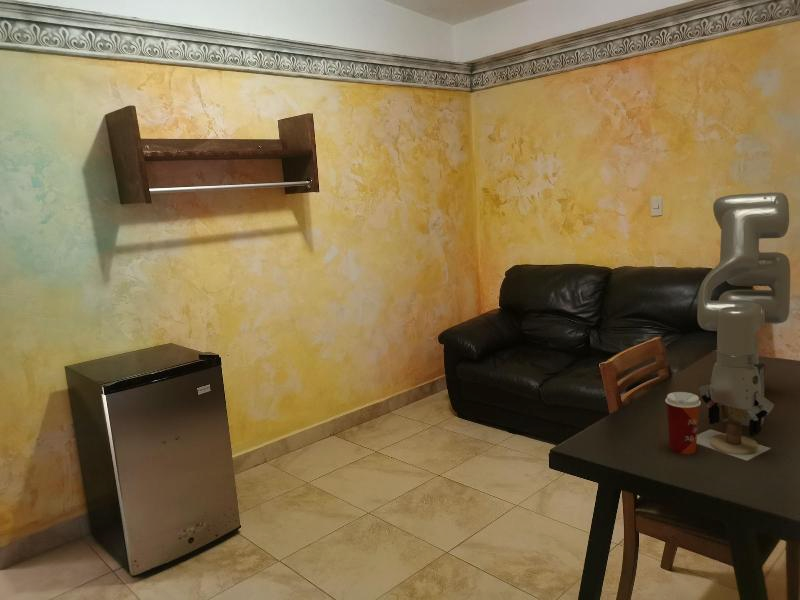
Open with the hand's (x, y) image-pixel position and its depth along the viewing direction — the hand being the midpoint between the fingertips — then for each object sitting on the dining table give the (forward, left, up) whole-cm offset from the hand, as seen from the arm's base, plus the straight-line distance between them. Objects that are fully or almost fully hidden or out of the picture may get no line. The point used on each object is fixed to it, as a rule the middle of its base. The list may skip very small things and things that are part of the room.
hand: (733, 428), depth 139 cm
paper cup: (+10, -7, -6) cm, 13 cm away
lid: (0, 0, -5) cm, 5 cm away
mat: (0, -2, -5) cm, 6 cm away
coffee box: (-16, -7, -6) cm, 19 cm away
